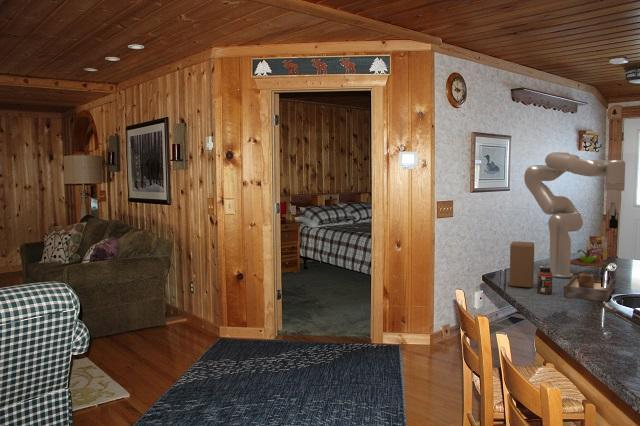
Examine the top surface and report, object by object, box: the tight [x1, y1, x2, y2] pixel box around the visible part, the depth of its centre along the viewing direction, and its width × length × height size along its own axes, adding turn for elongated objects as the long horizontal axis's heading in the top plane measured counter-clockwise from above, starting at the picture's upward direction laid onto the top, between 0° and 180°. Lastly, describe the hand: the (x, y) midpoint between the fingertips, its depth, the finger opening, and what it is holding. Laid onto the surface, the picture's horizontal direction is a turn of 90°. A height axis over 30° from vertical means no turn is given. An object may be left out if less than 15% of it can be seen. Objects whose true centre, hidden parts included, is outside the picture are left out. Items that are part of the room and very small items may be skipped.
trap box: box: [563, 274, 615, 303], centre depth 216 cm, size 16×28×4 cm, turn 145°
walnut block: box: [578, 272, 595, 289], centre depth 210 cm, size 5×5×6 cm
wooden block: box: [509, 240, 535, 289], centre depth 232 cm, size 10×10×20 cm
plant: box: [570, 246, 608, 268], centre depth 282 cm, size 20×20×11 cm
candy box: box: [588, 235, 609, 261], centre depth 294 cm, size 9×4×15 cm, turn 29°
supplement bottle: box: [536, 266, 553, 295], centre depth 216 cm, size 6×6×11 cm
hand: (613, 228), depth 224 cm, fingers closed
